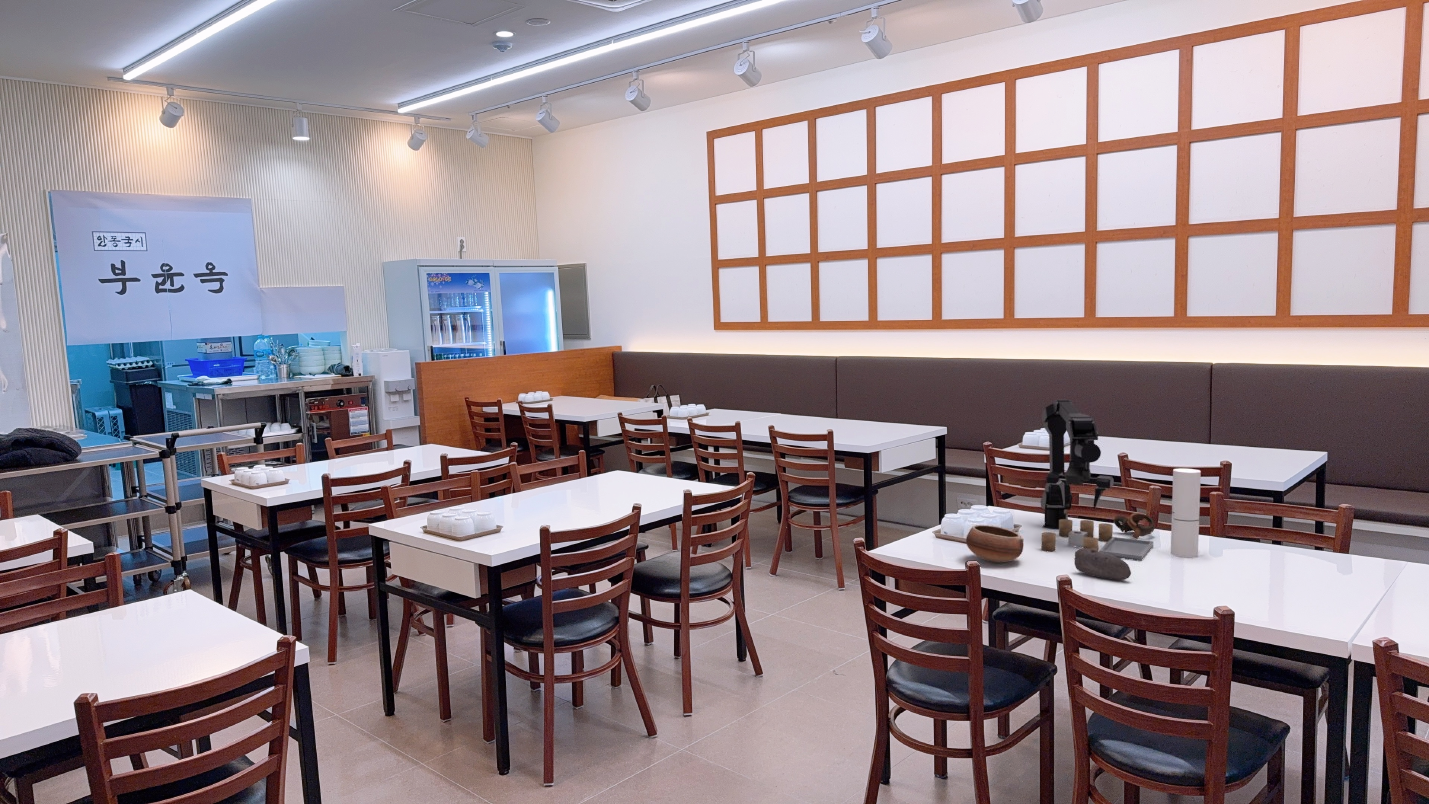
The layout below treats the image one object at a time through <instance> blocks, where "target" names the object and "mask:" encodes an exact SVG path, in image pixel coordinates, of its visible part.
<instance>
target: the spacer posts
mask: <svg viewBox="0 0 1429 804" xmlns="http://www.w3.org/2000/svg"><path fill="white" fill-rule="evenodd" d="M1079 522H1080V523H1079V531H1082V532H1087V537H1084V538H1083V548H1086V549H1092V550H1096V551H1099V542H1102V543H1107V542H1108V541H1109V540H1110V539H1111V538H1112V537H1113V532H1114V531H1113V524H1111V523H1106V522H1105V523H1098V538H1097V537H1094V536H1095V535H1094V533H1095V532H1094V528H1095V524H1094V523H1095V521H1093V520H1089V519H1082V520H1080V521H1079ZM1073 523H1074V522H1073V520H1072V519H1069V518H1068V519H1060V520H1059V529H1058V536H1059V537H1061V538H1068V533H1069V532H1071V531H1072V530H1073ZM1056 537H1057V534H1056V533H1054V532H1050V531H1048V532H1047V531H1046V532H1045V531H1043V532H1041V551H1043V552H1047V551H1048V552H1049V553H1050V552H1056V551H1057V550H1056V541H1057V539H1056ZM1055 550H1056V551H1055Z"/></svg>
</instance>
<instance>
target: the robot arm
mask: <svg viewBox="0 0 1429 804" xmlns="http://www.w3.org/2000/svg"><path fill="white" fill-rule="evenodd" d="M1041 420H1042V421H1041V422H1042V423H1043V428H1044V430H1045V431H1046V432H1047V434H1048V439H1049V440H1048V448H1049V452H1048V453H1049V473H1047V474H1046V475H1045V483H1046V484H1045V485H1044V492H1043V493H1042V496H1041V499H1040V500H1039V501H1040V507H1041V509H1043V510H1044V524H1043V525H1042V528H1046V529H1048V528H1049V529H1056V530H1059V520H1060V519H1069V514H1068V513H1067V510H1068V511H1070V510H1071V508H1072V504H1073V497H1074V496H1073V494H1072V492H1071V486H1070V485H1076V486H1082V485H1083V484H1090V485H1095V486H1096V487H1095V488H1094V498H1093V499H1094V500H1093V510H1096V508H1097V506H1098V504H1099V502H1100V499H1101V497H1102V495H1103V493H1104V491H1107V490H1108V489H1111V488H1112V487H1113V486H1114V482H1115V481H1114V478H1113V476H1112V475H1111V476H1110V475H1099V476H1097V477H1092V473H1091V466H1090V465H1091V463H1095V462H1096V461H1098V460H1099V459H1100V458H1101V455H1102V450H1101V449H1100V447H1099V445H1097V444H1096V443H1095V441H1098V440H1099V435H1100V434H1099V430H1098V428H1097V424H1096V423H1095V420H1094V419H1093V417H1092V416H1090V415H1089V414H1084V413H1081V412H1080V411H1079V410H1078V409H1077V408H1076V407H1075V406H1074V405H1073V402H1072V400H1070V399H1056V400H1054V401H1053V403H1051V404H1049V405H1048V406H1046V407H1045V408H1044V410H1043V411H1042V413H1041ZM1066 432H1067V435H1068V438H1069V462H1068V466H1067V468H1066V471H1065V434H1066Z"/></svg>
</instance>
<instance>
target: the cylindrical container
mask: <svg viewBox="0 0 1429 804" xmlns="http://www.w3.org/2000/svg"><path fill="white" fill-rule="evenodd" d="M1201 473H1202V471H1201V470H1200V469H1195V468H1194V469H1193V468H1183V467H1181V468H1173V470H1172V494H1171V495H1172V497H1171V527H1170V529H1171V533H1170V537H1171V538H1170V554H1171V556H1174V557H1177V558H1187V559H1189V558H1190V559H1193V558H1194V557H1195V558H1197V556H1198V557H1199V534H1200V533H1199V532H1200V531H1199V530H1200V502H1201V500H1200V499H1201Z"/></svg>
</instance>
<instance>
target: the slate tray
mask: <svg viewBox="0 0 1429 804" xmlns="http://www.w3.org/2000/svg"><path fill="white" fill-rule="evenodd" d="M1154 543H1155V542H1154V541H1152V540H1144V539H1143V540H1142V539H1135V538H1128V537H1126V538H1125V537H1117V536H1112V538H1111V539H1110V540H1109V541H1108V542H1105V544H1104V545H1103V546H1102V547H1101V548H1100V549H1098V551H1099V552H1104V553H1107V554H1110V555H1113V556H1115V557H1118V558H1120V559H1121V558H1125V559H1124V560H1129V559H1133V560H1132V561H1137V560H1138V561H1139V562H1142V561H1143V560H1144V559H1145V557H1146V556H1147V555H1148V554H1149V553H1150V551H1151V550H1152V549H1153V547H1154ZM1151 548H1152V549H1151ZM1150 549H1151V550H1150ZM1147 553H1148V554H1147ZM1143 558H1144V559H1143ZM1142 559H1143V560H1142Z"/></svg>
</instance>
